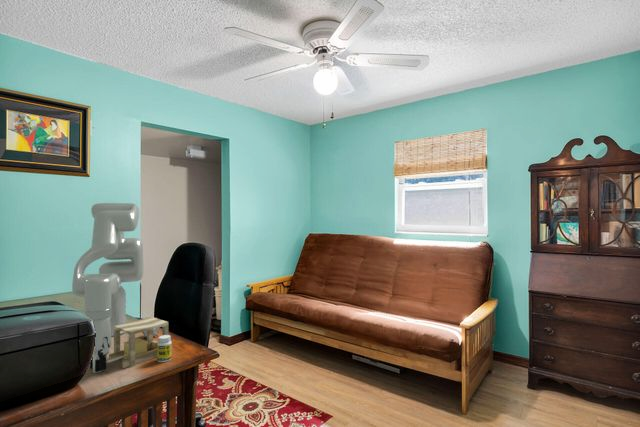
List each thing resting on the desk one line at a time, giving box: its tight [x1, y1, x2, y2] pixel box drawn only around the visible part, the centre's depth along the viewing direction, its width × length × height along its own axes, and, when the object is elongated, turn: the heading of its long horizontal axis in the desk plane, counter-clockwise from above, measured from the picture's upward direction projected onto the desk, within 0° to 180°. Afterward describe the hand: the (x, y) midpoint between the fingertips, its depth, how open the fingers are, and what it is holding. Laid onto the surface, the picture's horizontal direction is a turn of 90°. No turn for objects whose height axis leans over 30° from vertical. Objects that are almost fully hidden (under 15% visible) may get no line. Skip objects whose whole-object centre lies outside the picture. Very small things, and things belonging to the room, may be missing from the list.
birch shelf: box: [108, 316, 169, 370], centre depth 127 cm, size 12×16×12 cm
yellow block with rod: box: [92, 337, 148, 374], centre depth 122 cm, size 6×17×7 cm, turn 146°
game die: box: [141, 316, 161, 340], centre depth 149 cm, size 9×8×10 cm
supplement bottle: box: [156, 334, 173, 363], centre depth 125 cm, size 5×5×8 cm
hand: (98, 368), depth 116 cm, fingers closed on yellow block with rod, 3 cm apart
